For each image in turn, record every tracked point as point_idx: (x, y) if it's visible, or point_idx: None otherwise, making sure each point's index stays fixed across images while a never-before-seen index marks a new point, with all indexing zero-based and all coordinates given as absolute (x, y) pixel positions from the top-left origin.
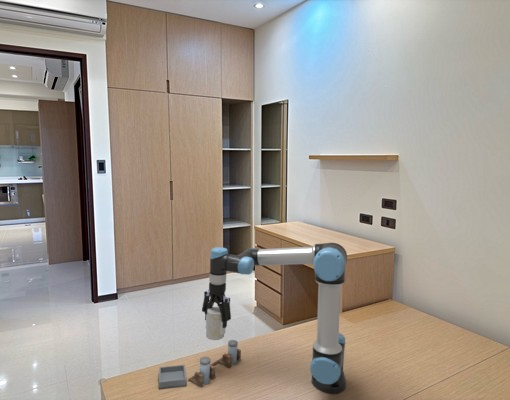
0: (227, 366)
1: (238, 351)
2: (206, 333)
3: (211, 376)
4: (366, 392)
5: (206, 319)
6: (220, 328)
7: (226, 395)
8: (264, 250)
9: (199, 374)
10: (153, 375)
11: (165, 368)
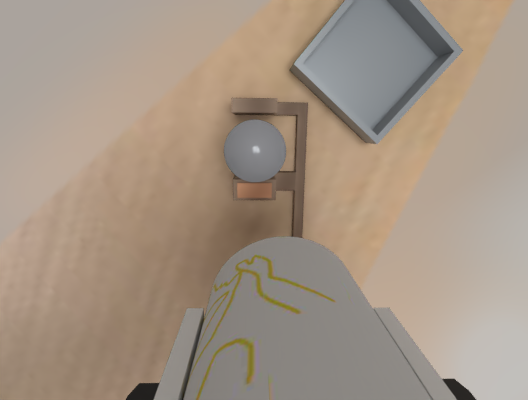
0: None
1: None
2: (335, 261)
3: None
4: None
5: (440, 390)
6: (185, 357)
7: (124, 131)
8: None
9: (250, 105)
10: (453, 31)
11: (433, 70)
